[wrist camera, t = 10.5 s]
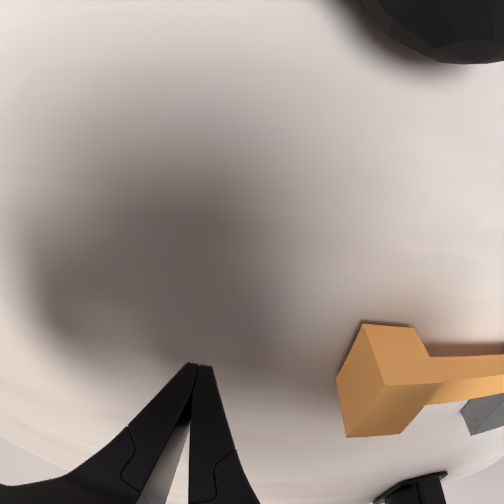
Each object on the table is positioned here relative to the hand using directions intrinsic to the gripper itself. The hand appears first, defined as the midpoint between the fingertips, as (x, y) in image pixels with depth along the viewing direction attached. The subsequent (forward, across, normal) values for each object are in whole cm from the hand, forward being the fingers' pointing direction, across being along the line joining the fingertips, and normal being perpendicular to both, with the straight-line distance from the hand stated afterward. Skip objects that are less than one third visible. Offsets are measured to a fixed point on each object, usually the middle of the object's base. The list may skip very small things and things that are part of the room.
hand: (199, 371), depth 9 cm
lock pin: (+2, -11, 0) cm, 11 cm away
